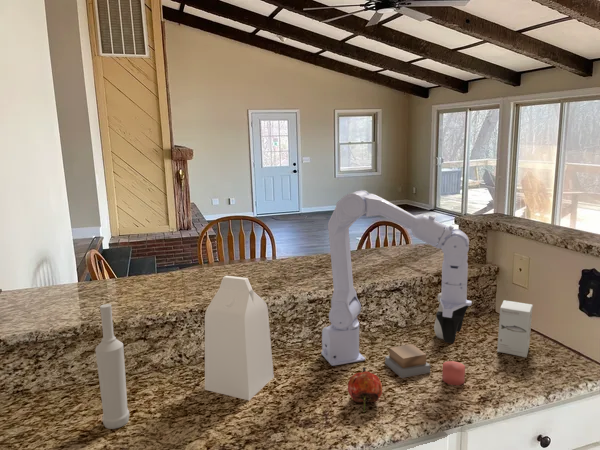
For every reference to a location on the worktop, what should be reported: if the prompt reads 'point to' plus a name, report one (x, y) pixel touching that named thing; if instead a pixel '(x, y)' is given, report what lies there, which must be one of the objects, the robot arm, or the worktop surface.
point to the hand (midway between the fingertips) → (452, 336)
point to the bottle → (111, 374)
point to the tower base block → (409, 370)
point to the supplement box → (514, 328)
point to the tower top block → (407, 356)
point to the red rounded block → (453, 373)
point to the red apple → (365, 387)
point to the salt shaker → (437, 325)
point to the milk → (237, 341)
